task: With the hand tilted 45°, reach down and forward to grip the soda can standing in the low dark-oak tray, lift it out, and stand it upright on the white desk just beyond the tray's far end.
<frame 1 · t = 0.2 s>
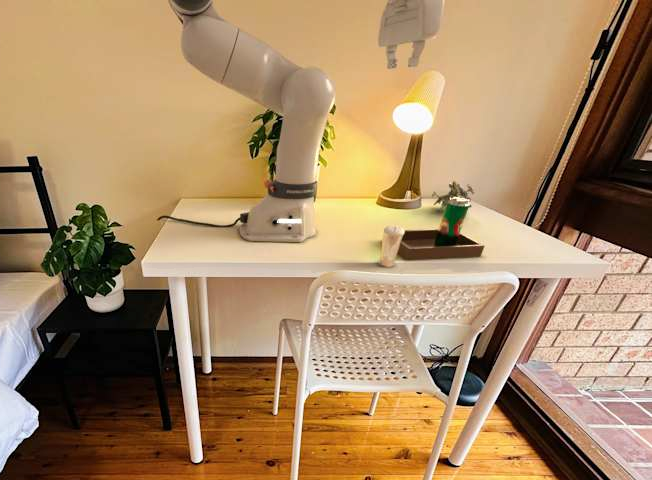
hand: (401, 67, 89), 39 cm above the table, tool pointing down, fingers open, 8 cm apart
tray: (429, 248, 98), on the table
soda can: (443, 247, 98), resting on tray
milkshake: (385, 265, 89), on the table
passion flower: (448, 212, 126), on the table
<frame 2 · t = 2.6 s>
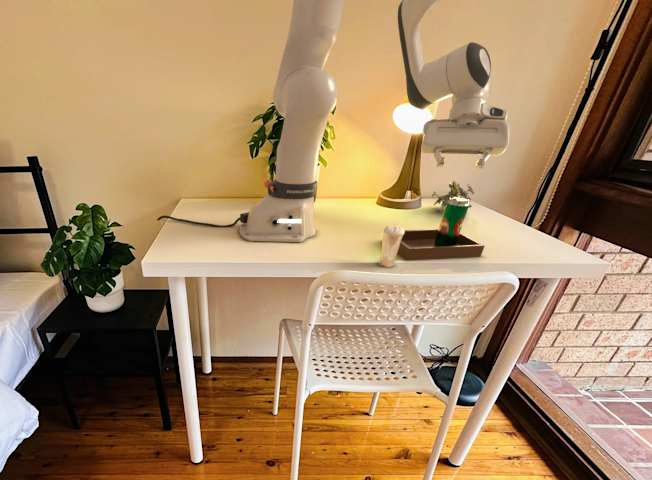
hand: (459, 166, 97), 18 cm above the table, tool tilted 45°, fingers open, 8 cm apart
nothing on the table moved.
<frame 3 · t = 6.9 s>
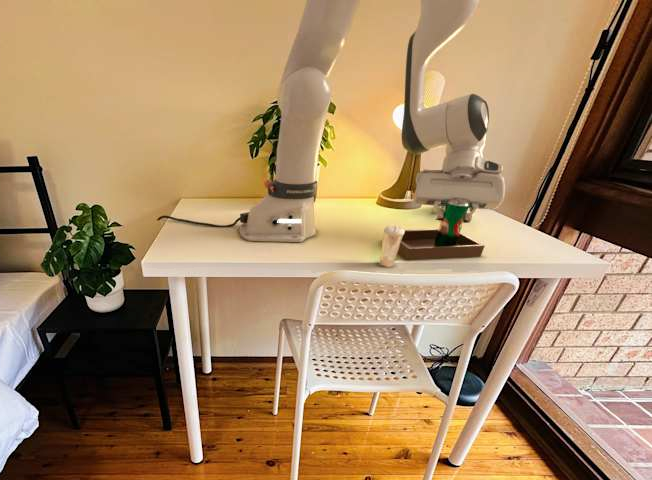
hand: (453, 220, 93), 7 cm above the table, tool tilted 45°, fingers closed on soda can, 5 cm apart
soda can: (443, 247, 98), resting on tray, touching gripper
everything else where it was.
when the fingers open (7 cm above the table, at t = 15.1 s): soda can stays where it is, on the table.
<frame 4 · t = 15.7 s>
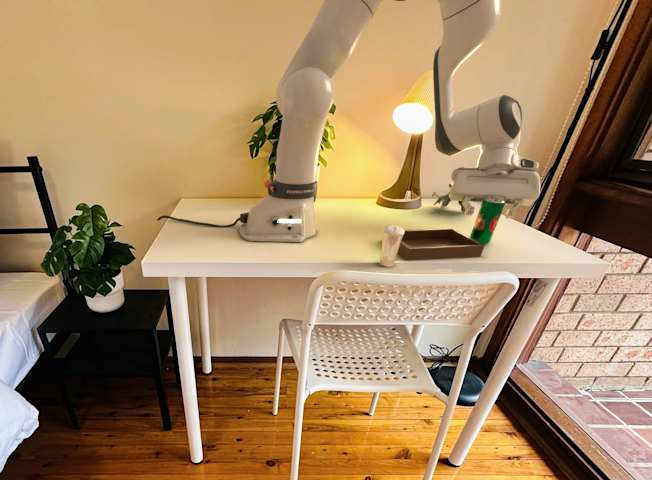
hand: (489, 216, 97), 7 cm above the table, tool tilted 45°, fingers open, 8 cm apart
soda can: (478, 242, 101), on the table
everything else where it was.
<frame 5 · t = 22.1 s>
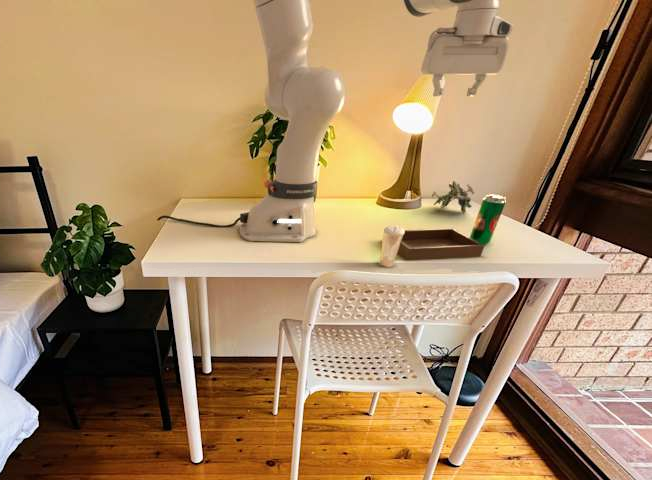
hand: (453, 96, 97), 33 cm above the table, tool pointing down, fingers open, 8 cm apart
nothing on the table moved.
at the end: soda can inside the target area (0.2 cm from its centre), on the table; soda can tilted 0°; the gripper is holding nothing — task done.
